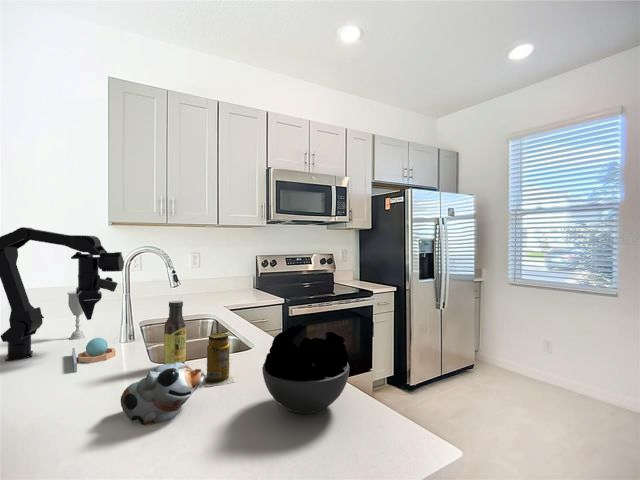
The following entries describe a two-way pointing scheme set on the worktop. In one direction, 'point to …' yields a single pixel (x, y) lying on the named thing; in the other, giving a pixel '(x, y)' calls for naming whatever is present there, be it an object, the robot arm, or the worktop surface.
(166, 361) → the sauce bottle
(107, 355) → the saucer
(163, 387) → the lucky cat figurine
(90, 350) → the ball
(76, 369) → the low wall
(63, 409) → the worktop surface
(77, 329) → the chalice
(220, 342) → the condiment
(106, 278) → the robot arm
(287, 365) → the coal bowl
